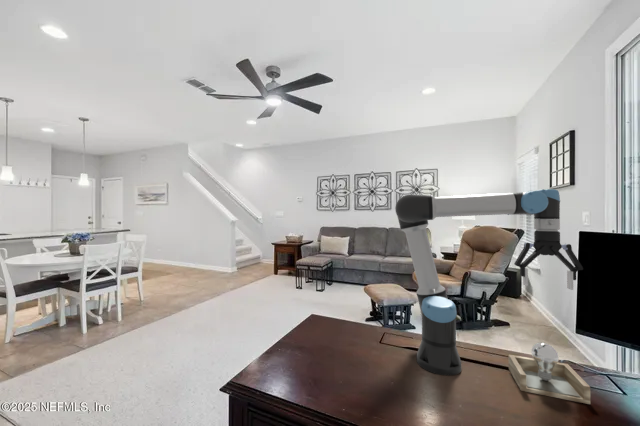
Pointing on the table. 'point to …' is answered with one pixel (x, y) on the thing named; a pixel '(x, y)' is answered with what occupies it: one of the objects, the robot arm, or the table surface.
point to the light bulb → (544, 359)
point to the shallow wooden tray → (560, 385)
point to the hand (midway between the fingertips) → (547, 287)
